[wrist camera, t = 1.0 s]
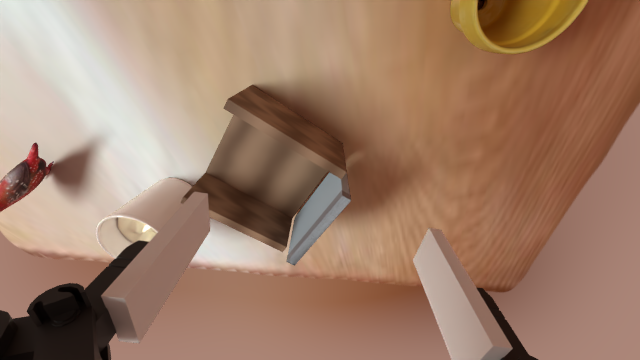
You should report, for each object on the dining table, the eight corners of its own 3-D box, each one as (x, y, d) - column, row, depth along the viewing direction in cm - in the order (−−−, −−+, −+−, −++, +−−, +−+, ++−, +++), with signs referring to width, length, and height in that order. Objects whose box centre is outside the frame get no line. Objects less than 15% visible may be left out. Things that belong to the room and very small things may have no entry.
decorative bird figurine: (27, 186, 45) (-45, 220, 36) (66, 122, 39) (-10, 145, 30) (44, 196, 46) (-23, 232, 37) (84, 135, 40) (16, 161, 31)
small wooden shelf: (210, 169, 42) (180, 203, 34) (252, 84, 36) (227, 99, 27) (291, 212, 46) (282, 251, 38) (342, 143, 40) (346, 172, 31)
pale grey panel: (294, 217, 43) (286, 261, 34) (338, 159, 38) (342, 195, 29) (301, 220, 44) (294, 265, 35) (345, 163, 38) (351, 200, 29)
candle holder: (137, 184, 44) (79, 228, 34) (181, 165, 42) (133, 206, 32) (173, 224, 49) (131, 274, 38) (215, 209, 47) (182, 257, 36)
